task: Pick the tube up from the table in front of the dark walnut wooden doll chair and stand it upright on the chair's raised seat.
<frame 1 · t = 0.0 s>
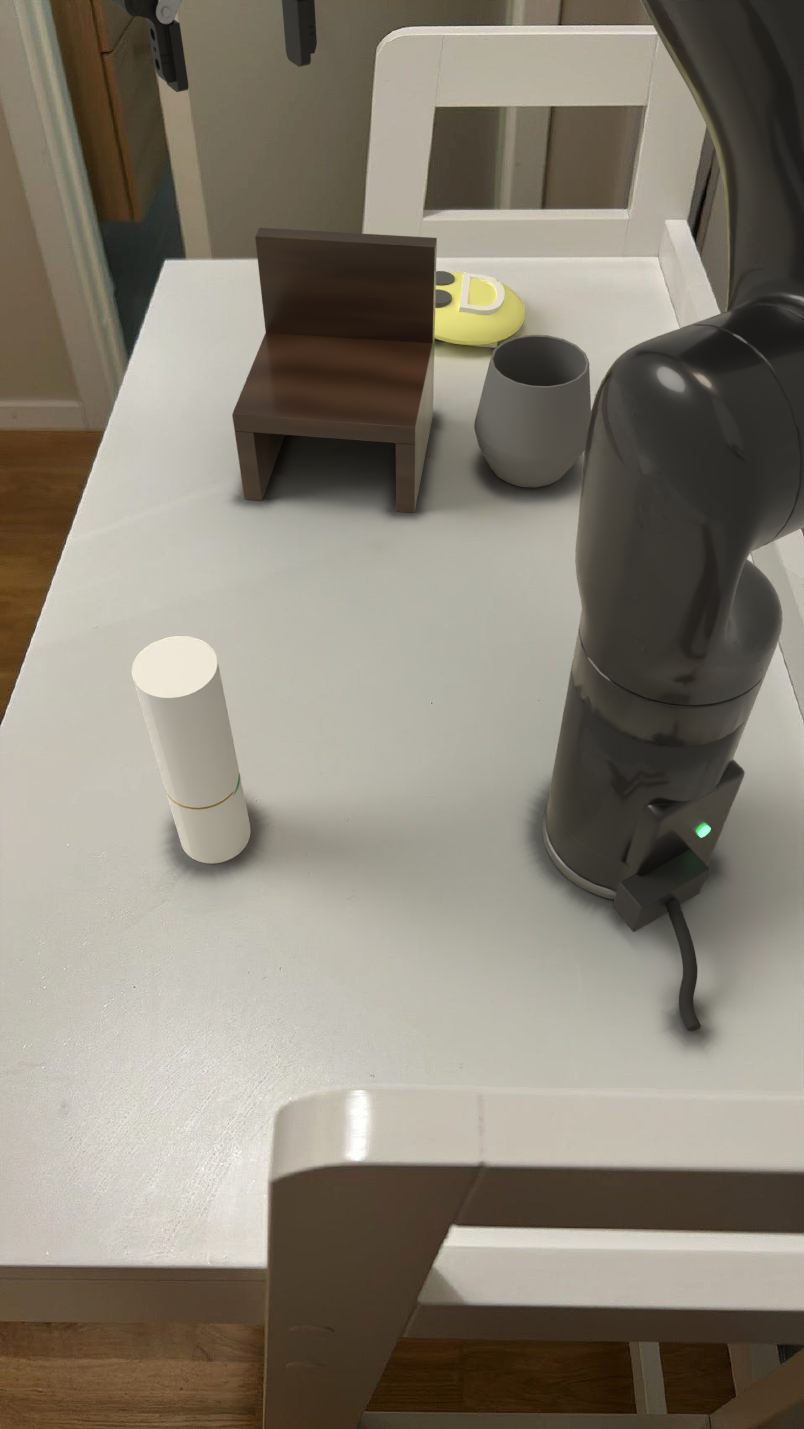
hand: (239, 75, 67), 29 cm above the table, tool pointing down, fingers open, 8 cm apart
emoji: (462, 328, 103), on the table
tube: (215, 835, 64), on the table
cup: (528, 469, 88), on the table
wooden doll chair: (341, 461, 89), on the table
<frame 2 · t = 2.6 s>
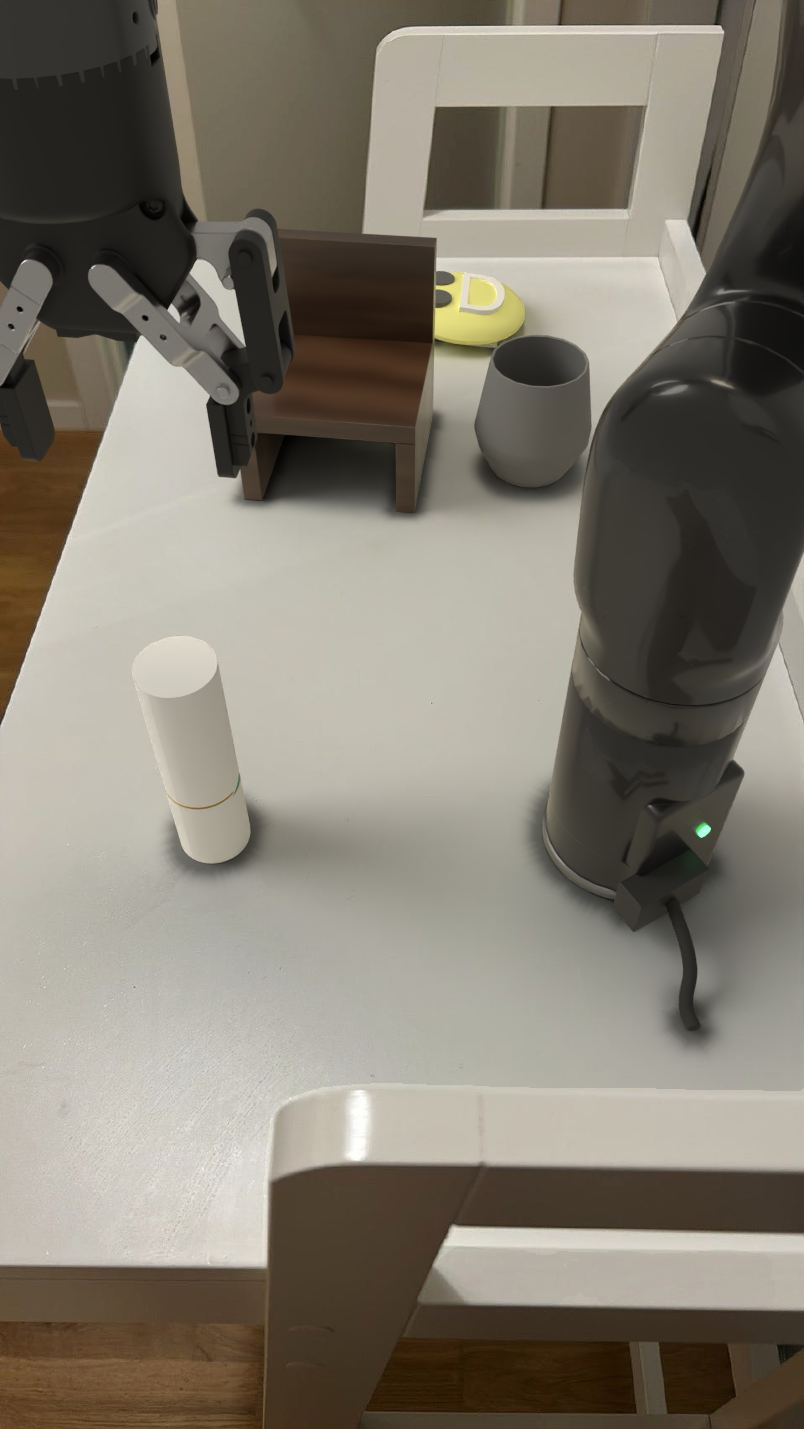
hand: (136, 458, 45), 26 cm above the table, tool pointing down, fingers open, 8 cm apart
nothing on the table moved.
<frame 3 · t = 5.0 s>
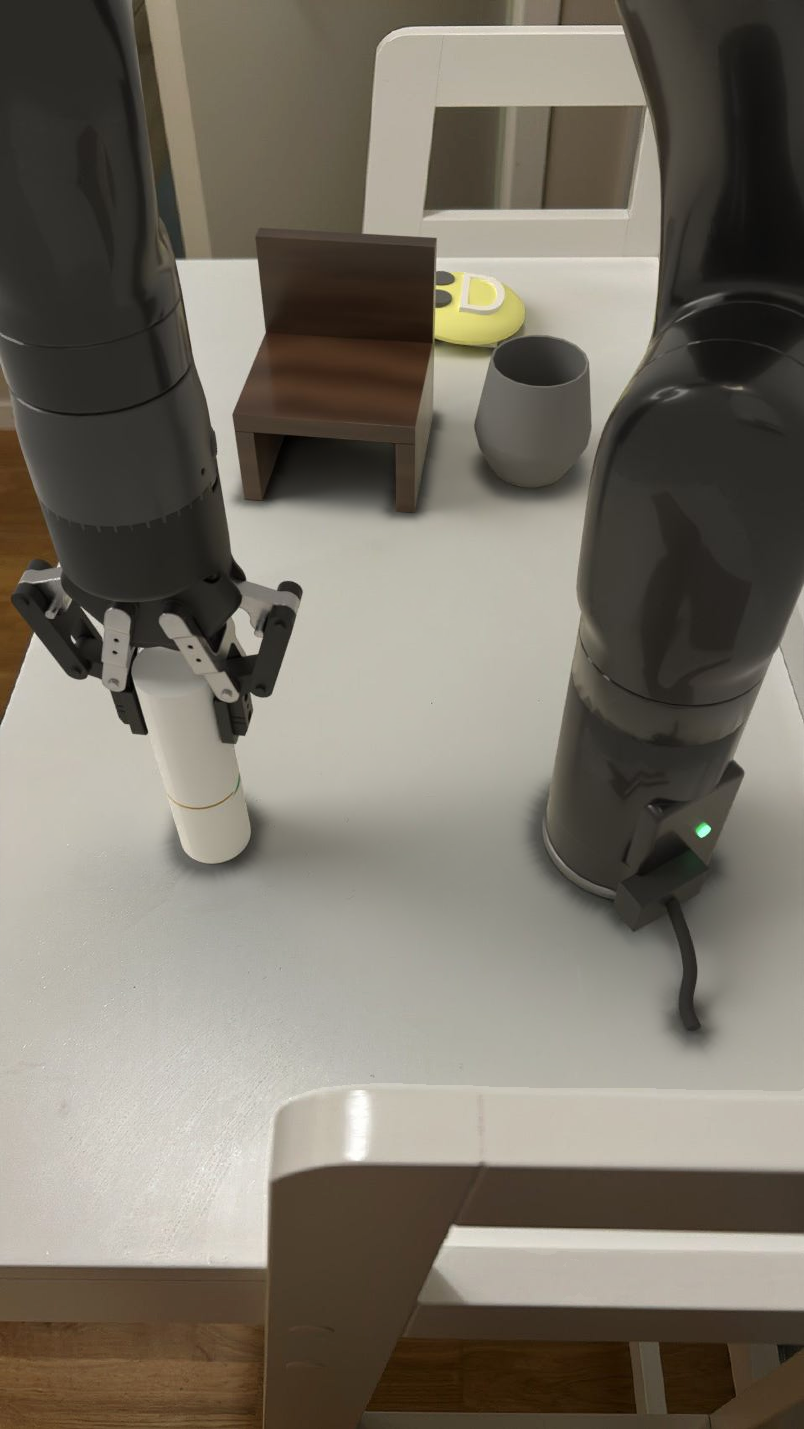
hand: (189, 726, 56), 10 cm above the table, tool pointing down, fingers closed on tube, 4 cm apart
tube: (216, 835, 64), on the table, touching gripper
everything else where it was.
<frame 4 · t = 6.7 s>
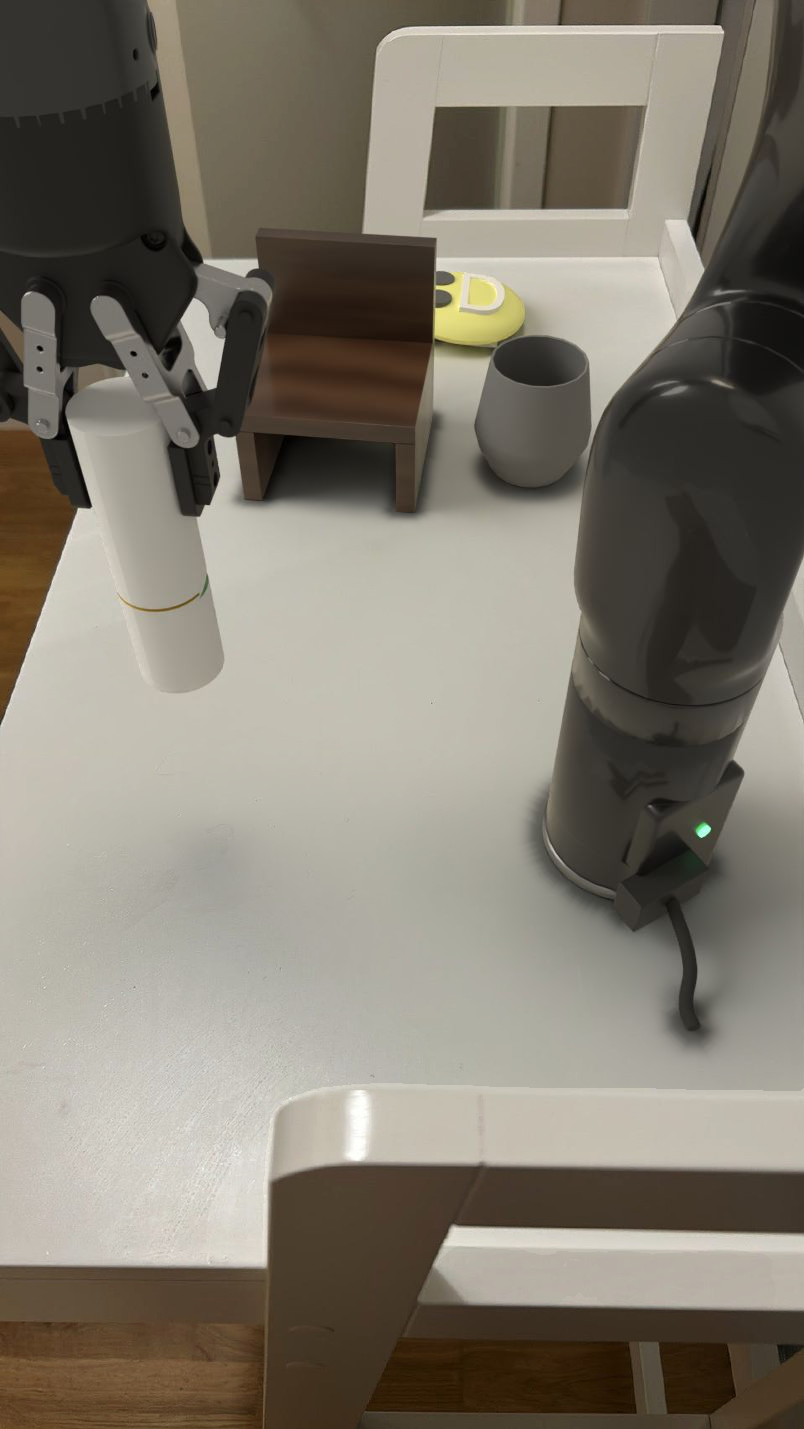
hand: (143, 499, 46), 25 cm above the table, tool pointing down, fingers closed on tube, 4 cm apart
tube: (183, 665, 54), point 14 cm above the table, touching gripper
everything else where it was.
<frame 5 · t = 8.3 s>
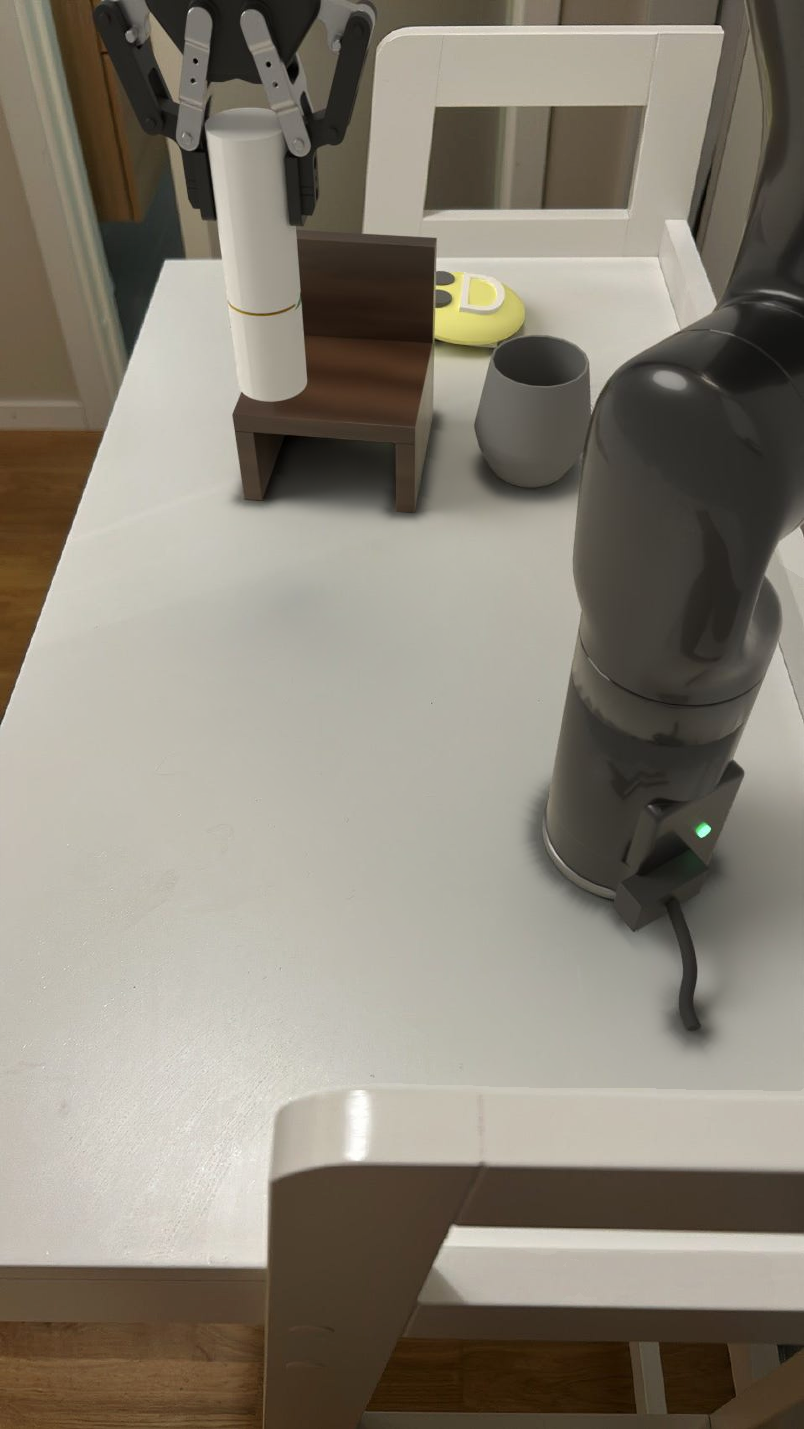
hand: (256, 216, 57), 28 cm above the table, tool pointing down, fingers closed on tube, 4 cm apart
tube: (273, 384, 65), point 17 cm above the table, touching gripper
everything else where it was.
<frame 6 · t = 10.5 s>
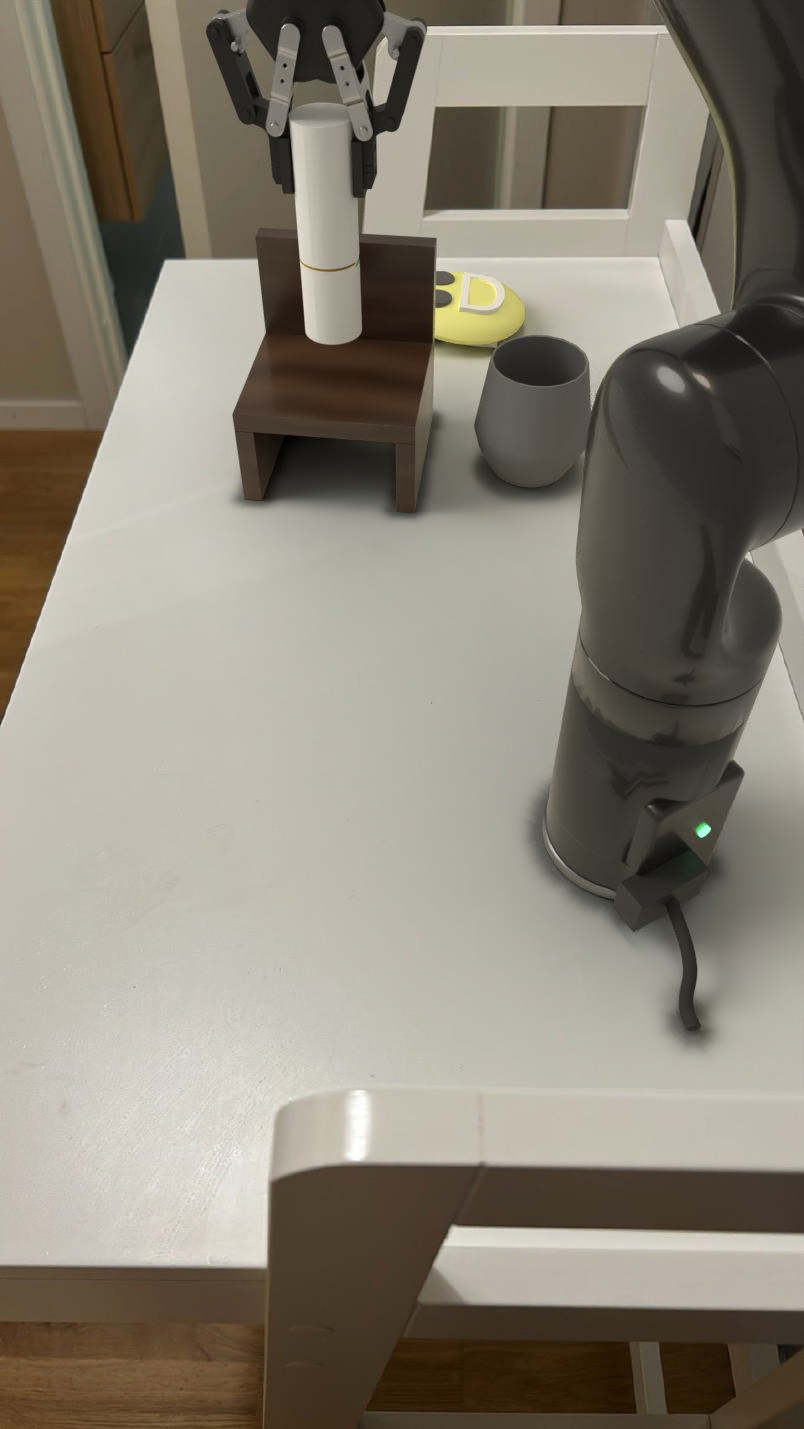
hand: (326, 190, 71), 22 cm above the table, tool pointing down, fingers closed on tube, 4 cm apart
tube: (333, 332, 79), point 12 cm above the table, touching gripper
everything else where it was.
when the fingers open (18 cm above the table, at t = 12.0 s): tube stays where it is, resting on wooden doll chair.
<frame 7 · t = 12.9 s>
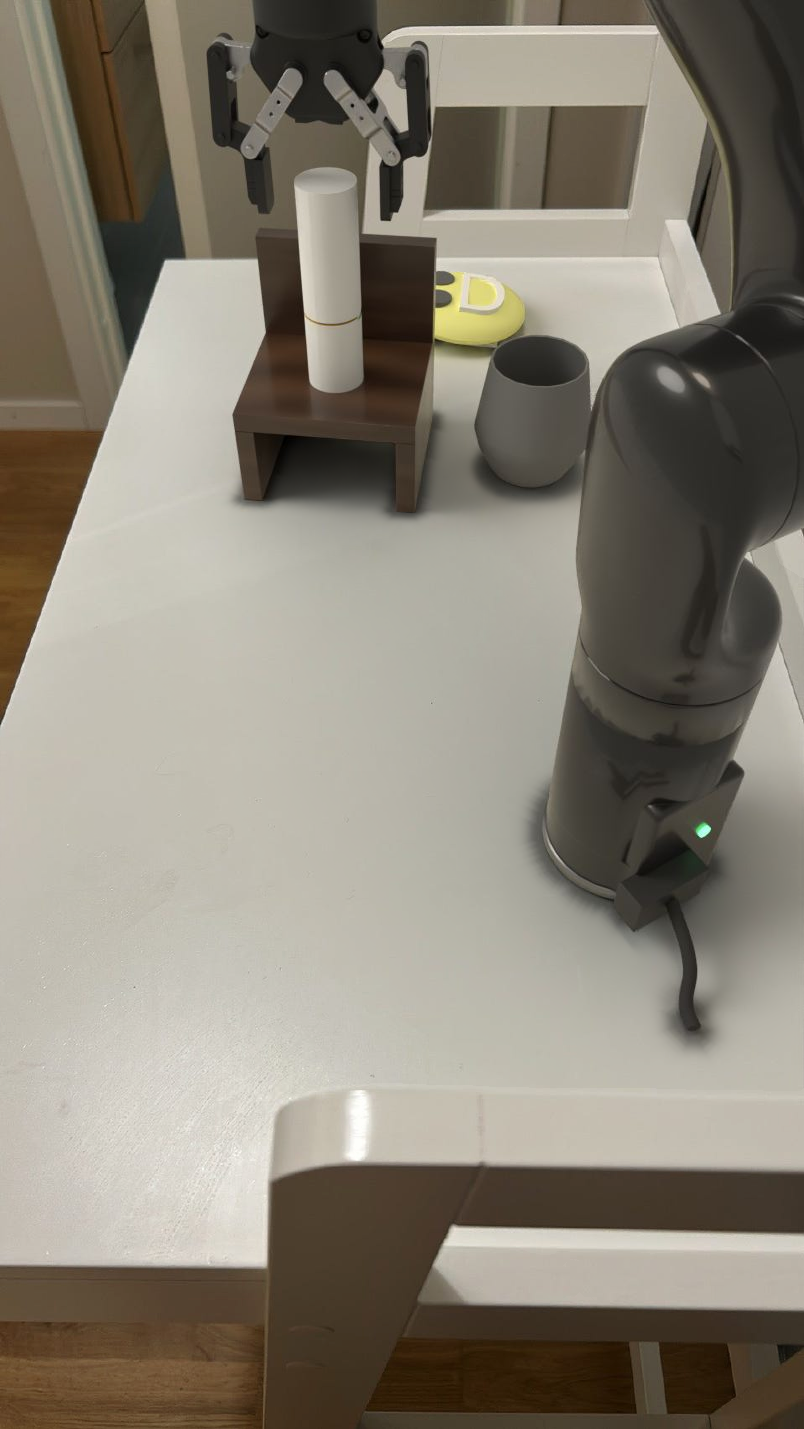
hand: (327, 213, 73), 21 cm above the table, tool pointing down, fingers open, 8 cm apart
tube: (336, 380, 83), point 8 cm above the table, touching wooden doll chair
everything else where it was.
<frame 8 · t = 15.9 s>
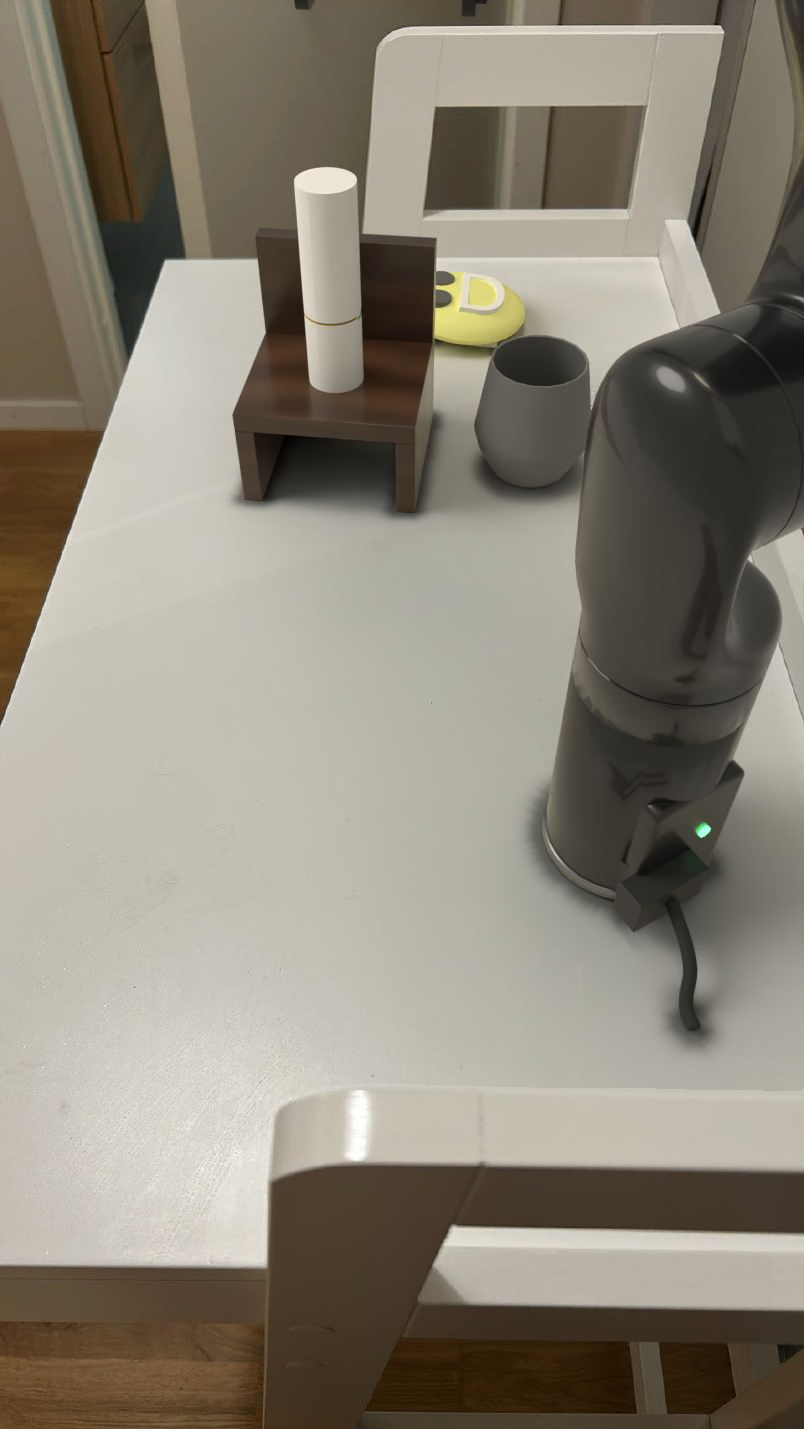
hand: (387, 9, 54), 36 cm above the table, tool pointing down, fingers open, 8 cm apart
nothing on the table moved.
at the end: tube inside the target area on the wooden doll chair (0.1 cm from its centre), point 7.8 cm above the wooden doll chair's base; tube tilted 0° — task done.
